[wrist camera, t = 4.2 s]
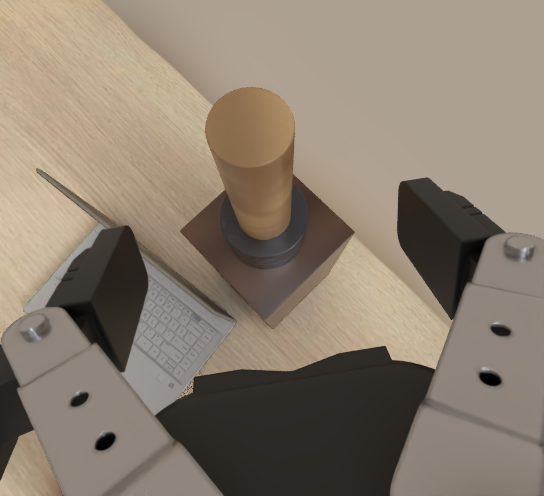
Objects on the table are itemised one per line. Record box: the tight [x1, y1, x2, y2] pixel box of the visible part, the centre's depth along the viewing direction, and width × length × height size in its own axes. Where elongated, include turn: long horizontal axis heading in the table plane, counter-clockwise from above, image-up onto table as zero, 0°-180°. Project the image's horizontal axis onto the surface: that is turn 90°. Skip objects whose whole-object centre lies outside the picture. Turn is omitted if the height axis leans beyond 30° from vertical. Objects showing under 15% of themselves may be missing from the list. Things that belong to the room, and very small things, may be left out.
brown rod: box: [205, 87, 309, 269], centre depth 20 cm, size 5×5×13 cm
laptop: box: [23, 168, 236, 416], centre depth 35 cm, size 18×12×13 cm
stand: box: [180, 175, 354, 329], centre depth 34 cm, size 8×8×16 cm
